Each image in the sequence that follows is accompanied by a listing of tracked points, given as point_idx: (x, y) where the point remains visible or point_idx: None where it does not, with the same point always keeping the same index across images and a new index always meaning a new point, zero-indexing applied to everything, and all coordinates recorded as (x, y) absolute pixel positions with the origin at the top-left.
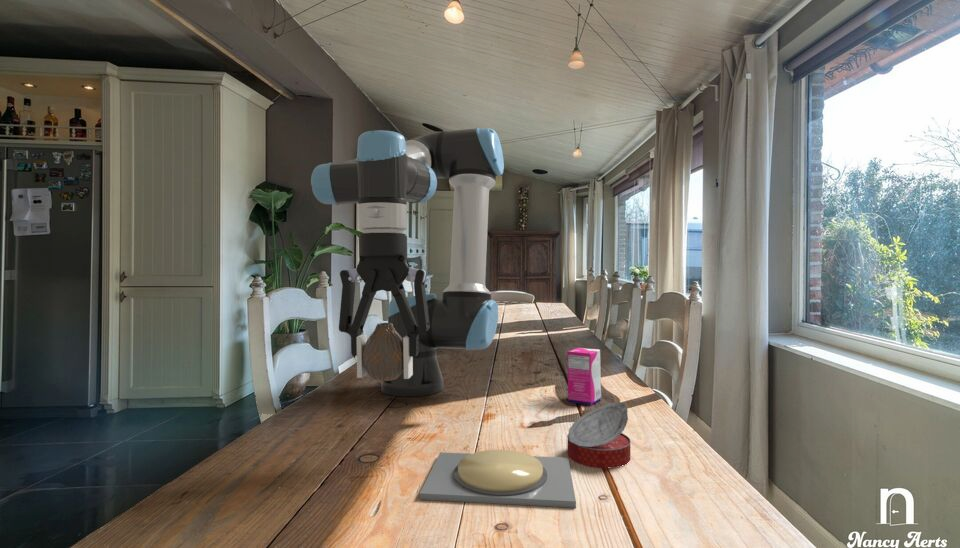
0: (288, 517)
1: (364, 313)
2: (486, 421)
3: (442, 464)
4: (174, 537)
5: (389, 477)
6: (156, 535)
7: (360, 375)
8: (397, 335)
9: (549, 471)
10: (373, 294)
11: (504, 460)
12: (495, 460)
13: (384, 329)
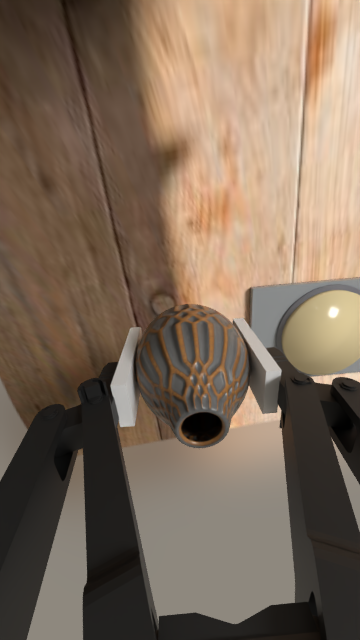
0: (154, 419)
1: (130, 493)
2: (313, 93)
3: (260, 322)
4: None
5: None
6: (80, 451)
7: None
8: (240, 400)
9: None
10: (147, 584)
11: (336, 322)
12: (326, 324)
13: (209, 437)
